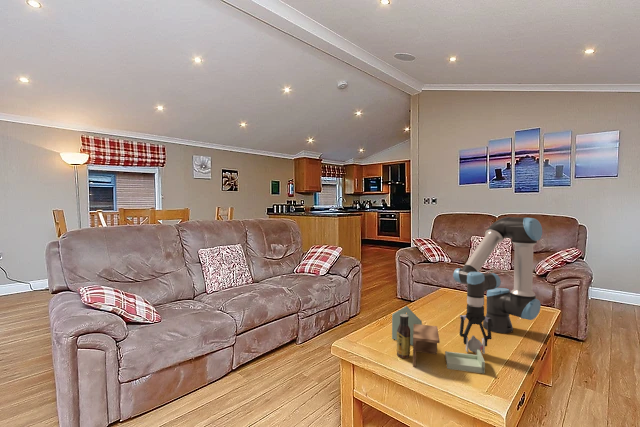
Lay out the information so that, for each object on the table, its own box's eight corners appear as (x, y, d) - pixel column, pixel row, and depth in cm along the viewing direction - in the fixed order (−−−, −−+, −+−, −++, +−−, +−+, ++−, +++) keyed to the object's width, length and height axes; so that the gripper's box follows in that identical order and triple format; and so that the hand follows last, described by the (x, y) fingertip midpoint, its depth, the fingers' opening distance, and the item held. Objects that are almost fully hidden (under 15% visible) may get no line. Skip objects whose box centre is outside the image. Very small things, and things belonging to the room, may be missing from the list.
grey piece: (427, 343, 171) (427, 305, 171) (421, 348, 165) (421, 309, 165) (398, 335, 182) (398, 299, 181) (391, 339, 176) (391, 303, 175)
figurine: (481, 357, 155) (481, 340, 154) (465, 352, 160) (465, 336, 159) (485, 352, 160) (485, 335, 159) (470, 347, 164) (470, 332, 164)
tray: (479, 360, 152) (479, 349, 152) (484, 373, 141) (484, 362, 141) (445, 356, 157) (445, 346, 156) (447, 368, 145) (447, 357, 145)
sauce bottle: (394, 353, 160) (395, 312, 159) (407, 352, 161) (407, 312, 160) (399, 359, 154) (399, 317, 153) (412, 359, 154) (412, 317, 153)
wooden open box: (436, 353, 160) (437, 326, 160) (439, 370, 144) (439, 340, 143) (413, 350, 163) (413, 323, 163) (412, 366, 147) (413, 337, 146)
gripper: (496, 303, 159) (495, 350, 160) (452, 300, 165) (452, 346, 166) (499, 308, 152) (499, 357, 153) (454, 305, 158) (454, 352, 159)
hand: (475, 351), depth 160 cm, fingers closed on figurine, 6 cm apart
